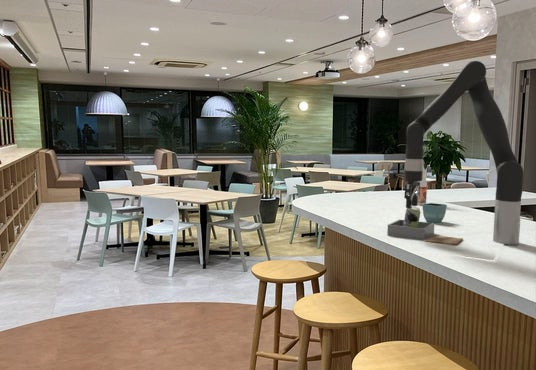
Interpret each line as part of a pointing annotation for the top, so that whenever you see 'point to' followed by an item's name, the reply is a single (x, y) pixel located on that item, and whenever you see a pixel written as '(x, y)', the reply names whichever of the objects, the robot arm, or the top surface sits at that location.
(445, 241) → the pad
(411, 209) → the beverage can
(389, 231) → the bin
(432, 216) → the flower pot
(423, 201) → the fruit juice
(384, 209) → the top surface
